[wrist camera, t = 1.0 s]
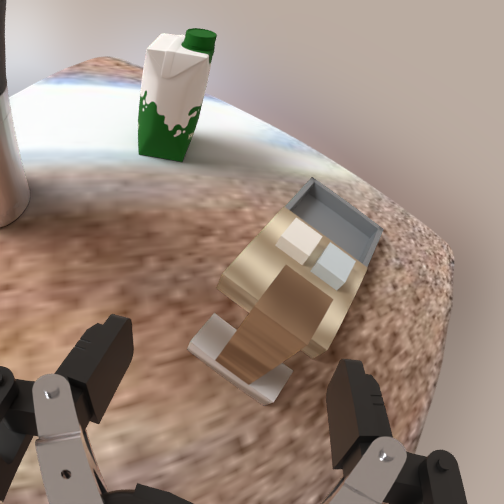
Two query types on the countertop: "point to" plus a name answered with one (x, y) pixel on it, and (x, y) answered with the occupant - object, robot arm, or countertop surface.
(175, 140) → the milk carton
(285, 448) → the countertop surface
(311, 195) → the tray
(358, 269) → the light wood board
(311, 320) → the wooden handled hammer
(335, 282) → the tile
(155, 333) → the countertop surface
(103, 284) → the countertop surface
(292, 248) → the tile
